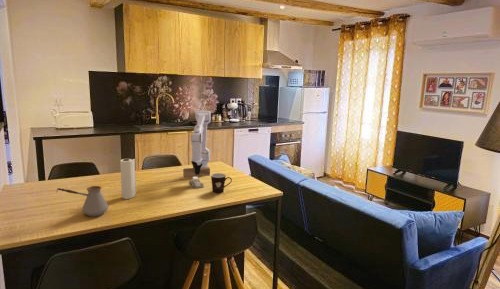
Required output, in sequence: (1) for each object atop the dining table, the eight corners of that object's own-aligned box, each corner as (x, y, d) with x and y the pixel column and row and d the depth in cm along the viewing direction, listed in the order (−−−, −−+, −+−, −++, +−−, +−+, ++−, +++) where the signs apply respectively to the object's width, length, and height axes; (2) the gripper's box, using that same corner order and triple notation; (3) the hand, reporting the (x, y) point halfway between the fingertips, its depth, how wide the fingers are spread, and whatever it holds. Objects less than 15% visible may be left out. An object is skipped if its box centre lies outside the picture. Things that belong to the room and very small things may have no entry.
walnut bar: (183, 175, 204) (183, 168, 203) (208, 173, 210) (208, 167, 209) (184, 177, 200) (184, 170, 199) (209, 175, 206) (210, 168, 205)
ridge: (189, 181, 211) (189, 176, 211) (199, 180, 214) (199, 175, 213) (193, 188, 199) (193, 183, 198) (203, 187, 201) (203, 182, 200)
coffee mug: (208, 192, 192) (208, 176, 190) (214, 188, 200) (214, 172, 198) (226, 195, 189) (227, 178, 187) (232, 190, 197) (232, 174, 195)
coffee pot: (106, 207, 166) (105, 178, 163) (110, 215, 157) (108, 185, 154) (58, 214, 156) (55, 184, 153) (58, 224, 146) (55, 192, 143)
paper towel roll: (121, 199, 177) (119, 161, 172) (122, 195, 182) (120, 158, 178) (135, 198, 179) (134, 160, 174) (136, 194, 184) (134, 158, 180)
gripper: (205, 154, 197) (205, 176, 199) (200, 149, 210) (200, 169, 213) (193, 155, 194) (193, 177, 197) (189, 149, 207) (189, 170, 210)
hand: (196, 173), depth 205 cm, fingers closed on walnut bar, 4 cm apart
